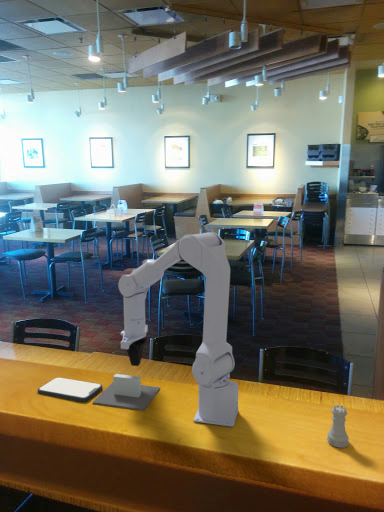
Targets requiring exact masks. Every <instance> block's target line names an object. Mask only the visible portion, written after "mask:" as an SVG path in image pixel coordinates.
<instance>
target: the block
mask: <svg viewBox="0 0 384 512" xmlns="http://www.w3.org/2000/svg"><path fill="white" fill-rule="evenodd" d="M112 378H113V379H112V380H113V381H112V382H114V394H115V395H123V396H131V397H139V396H140V395H141V385H142V384H141V383H142V381H141V376H136V375H130V374H129V375H127V374H122V373H121V374H120V373H119V374H118V373H115V374H114V375H113V377H112Z"/></svg>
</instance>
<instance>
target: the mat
mask: <svg viewBox="0 0 384 512" xmlns="http://www.w3.org/2000/svg"><path fill="white" fill-rule="evenodd" d="M160 390H161V387H160V386H151V385H144V384H141V395H140V396H139V397H131V396H123V395H115V394H114V381H112V382H111V383H110V384H109V385H108V386H107V387H105V390H102V391H101V392H100V394H99V395H98V396H97V397H96V398H95V399H94V400H93V402H92V404H93V405H99V406H105V407H114V408H121V409H129V410H135V411H144V412H145V410H146V409H147V408H148V406H149V405H150V404H151V402H152V400H154V398H155V396H156V395H157V394H158V393H159V392H160Z"/></svg>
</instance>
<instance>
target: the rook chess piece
mask: <svg viewBox="0 0 384 512" xmlns="http://www.w3.org/2000/svg"><path fill="white" fill-rule="evenodd" d="M331 413H332V416H331V419H332V424H331V428H330V429H329V431H328V432H327V436H326V441H327V443H329V444H330V445H331V446H332V447H334V448H339V449H344V448H346V447H347V446H349V443H350V442H349V435H348V434H347V431H346V426H345V425H346V421H347V419H346V416H347V415H348V412H347V408H346V407H345V406H343V405H339V404H336V405H333V406H332V409H331Z"/></svg>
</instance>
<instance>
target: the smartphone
mask: <svg viewBox="0 0 384 512" xmlns="http://www.w3.org/2000/svg"><path fill="white" fill-rule="evenodd" d="M103 388H104V387H103V385H102V384H101V383H96V382H90V381H85V380H78V379H77V380H76V379H71V378H64V377H54V378H53V379H51V380H49V381H48V382H46V383H44V384H43V385H41V386H40V387H38V389H37V394H40V395H44V396H49V397H50V396H51V397H54V398H58V399H64V400H70V401H74V402H79V403H87V402H90V401H91V400H92V399H93V398H95V396H97V395H98V394H99V393H101V392H103Z"/></svg>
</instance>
